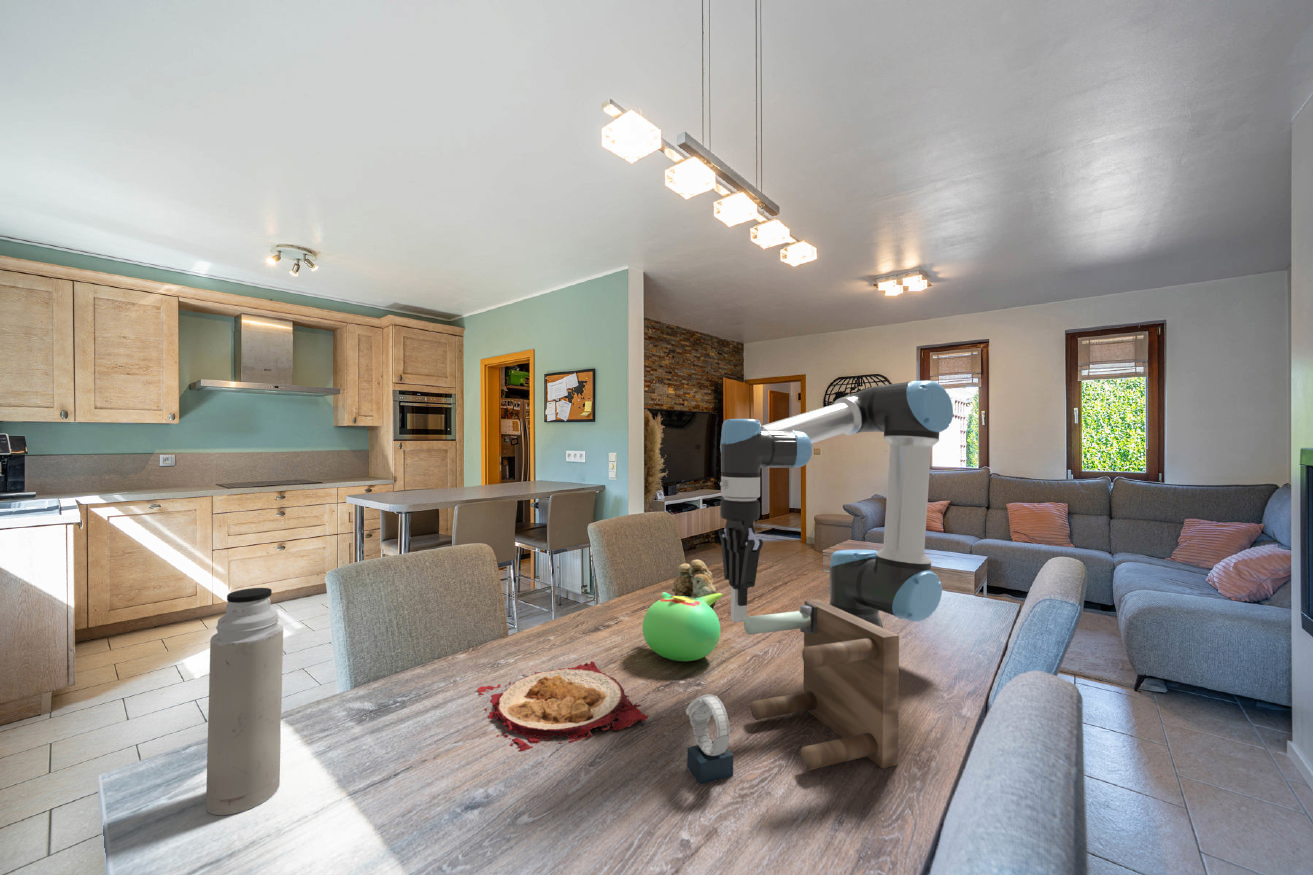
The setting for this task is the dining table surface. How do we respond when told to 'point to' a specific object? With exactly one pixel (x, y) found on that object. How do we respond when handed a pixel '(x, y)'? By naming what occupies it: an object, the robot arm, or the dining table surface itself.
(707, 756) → the watch
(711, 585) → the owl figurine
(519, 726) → the plate with food
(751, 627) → the hinged leg
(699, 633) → the toy bird
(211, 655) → the thermos bottle
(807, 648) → the stool
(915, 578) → the robot arm
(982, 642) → the dining table surface
